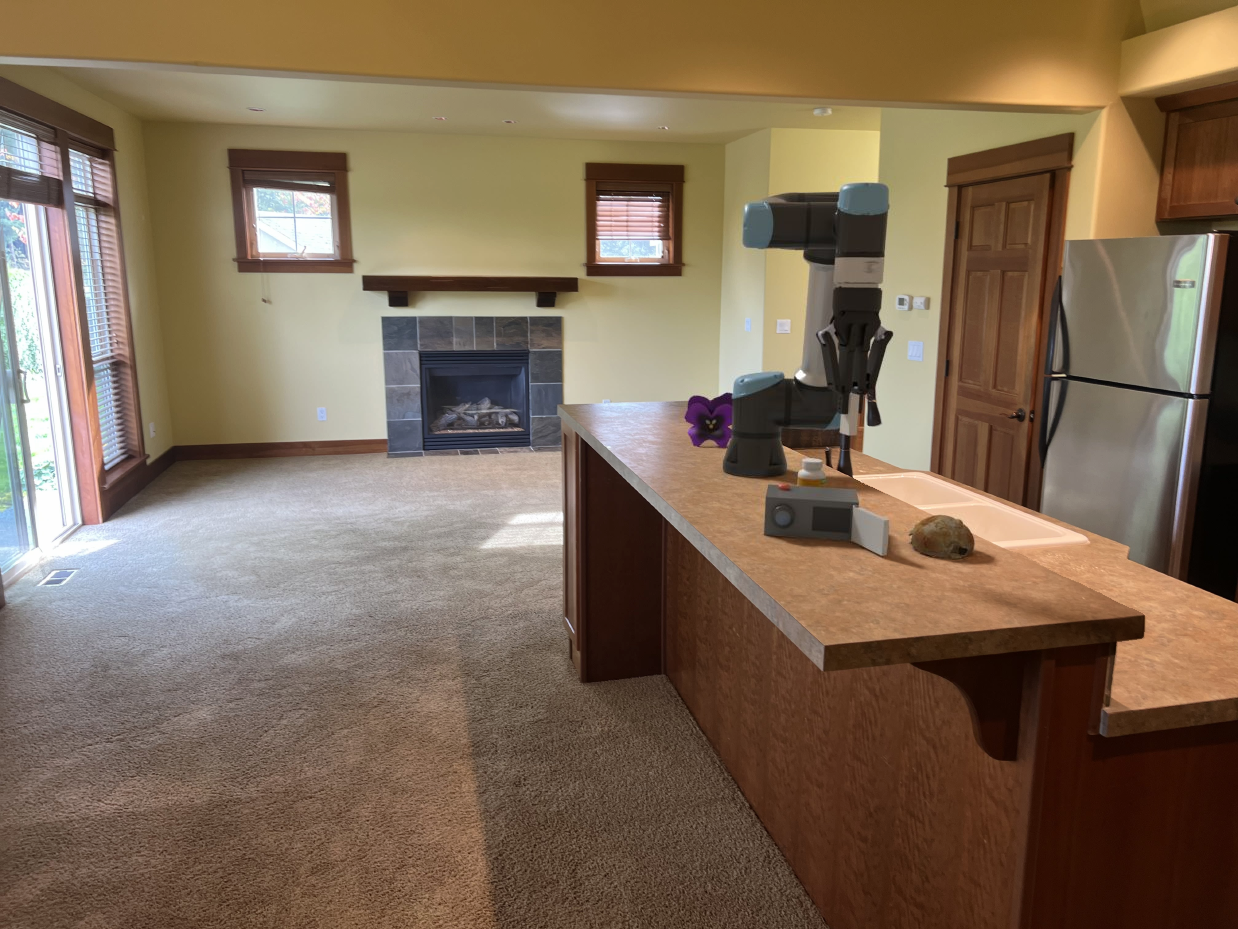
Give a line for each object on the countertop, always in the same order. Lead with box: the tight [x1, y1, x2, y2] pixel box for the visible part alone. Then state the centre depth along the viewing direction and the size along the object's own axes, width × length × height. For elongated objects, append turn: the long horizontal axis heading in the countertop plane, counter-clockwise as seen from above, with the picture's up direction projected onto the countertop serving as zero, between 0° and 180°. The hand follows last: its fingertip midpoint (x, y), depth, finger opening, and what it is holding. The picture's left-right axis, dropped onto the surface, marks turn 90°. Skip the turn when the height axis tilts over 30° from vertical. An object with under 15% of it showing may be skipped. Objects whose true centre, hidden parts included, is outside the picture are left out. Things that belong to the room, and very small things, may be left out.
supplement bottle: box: [796, 457, 827, 488], centre depth 177 cm, size 5×5×10 cm
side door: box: [850, 504, 890, 557], centre depth 150 cm, size 2×10×6 cm, turn 18°
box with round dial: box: [763, 483, 860, 542], centre depth 161 cm, size 12×16×8 cm
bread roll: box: [908, 514, 975, 560], centre depth 151 cm, size 10×10×8 cm
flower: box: [684, 392, 733, 449], centre depth 247 cm, size 15×15×14 cm
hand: (848, 433), depth 145 cm, fingers closed
